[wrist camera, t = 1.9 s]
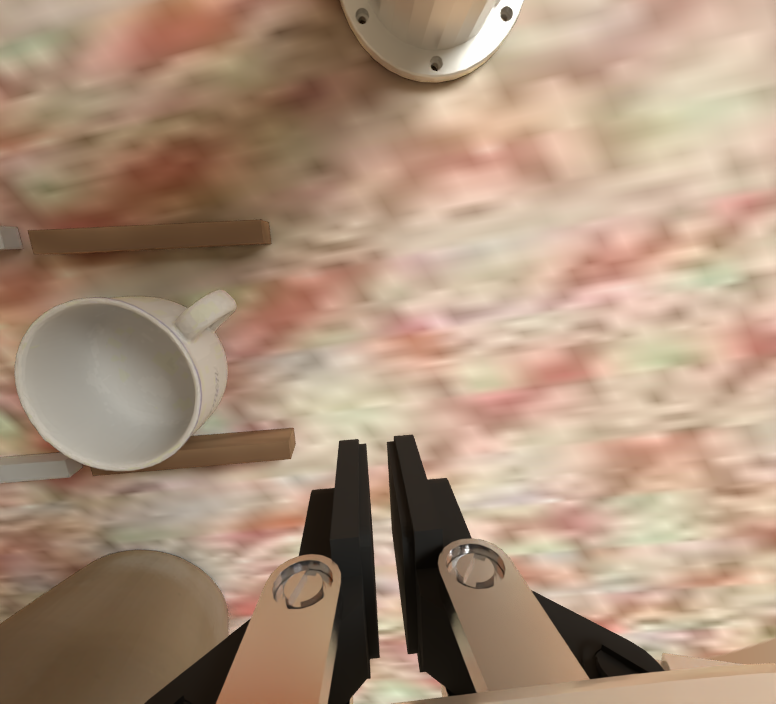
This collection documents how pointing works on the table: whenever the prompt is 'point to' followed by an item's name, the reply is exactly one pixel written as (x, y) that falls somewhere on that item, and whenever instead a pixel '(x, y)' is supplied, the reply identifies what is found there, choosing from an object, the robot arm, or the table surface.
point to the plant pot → (111, 632)
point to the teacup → (123, 376)
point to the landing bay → (37, 463)
